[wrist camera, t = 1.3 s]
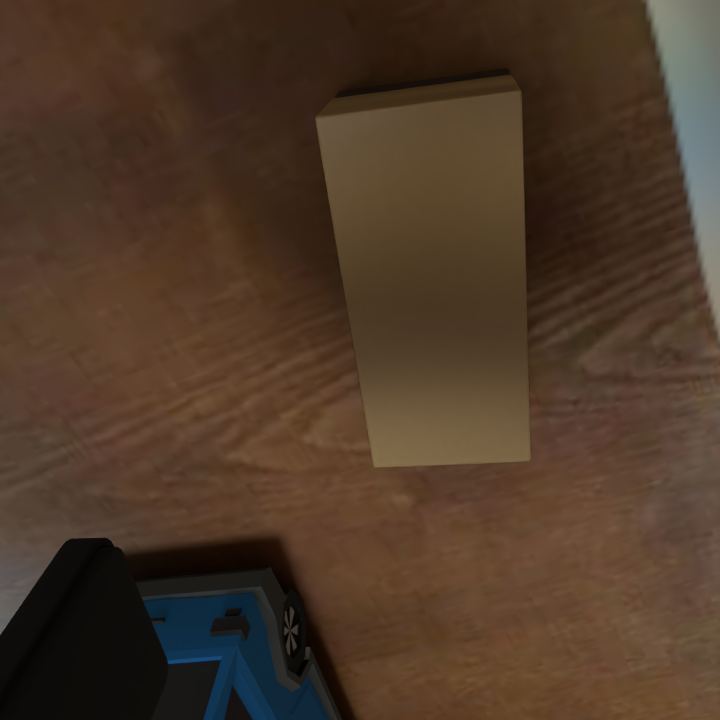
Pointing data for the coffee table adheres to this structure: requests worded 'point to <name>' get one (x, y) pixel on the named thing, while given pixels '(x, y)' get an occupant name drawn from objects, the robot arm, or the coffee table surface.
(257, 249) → the coffee table surface
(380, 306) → the eraser
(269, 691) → the toy car
